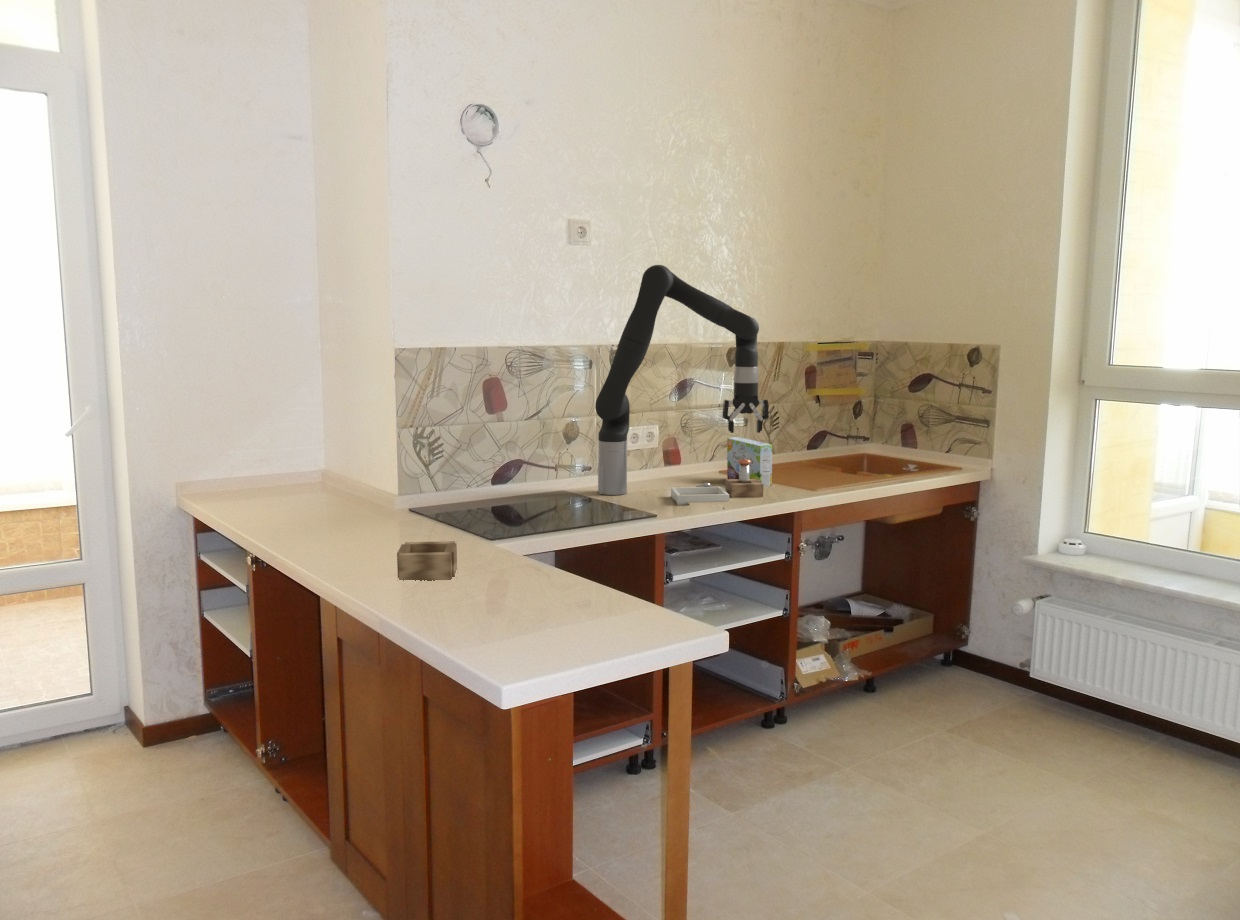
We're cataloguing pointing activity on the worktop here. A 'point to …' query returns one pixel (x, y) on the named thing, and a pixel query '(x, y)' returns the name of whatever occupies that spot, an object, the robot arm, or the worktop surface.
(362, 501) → the worktop surface
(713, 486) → the pulley
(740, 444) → the snack box
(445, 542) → the box
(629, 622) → the worktop surface
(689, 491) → the tray
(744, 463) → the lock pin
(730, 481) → the wooden box
